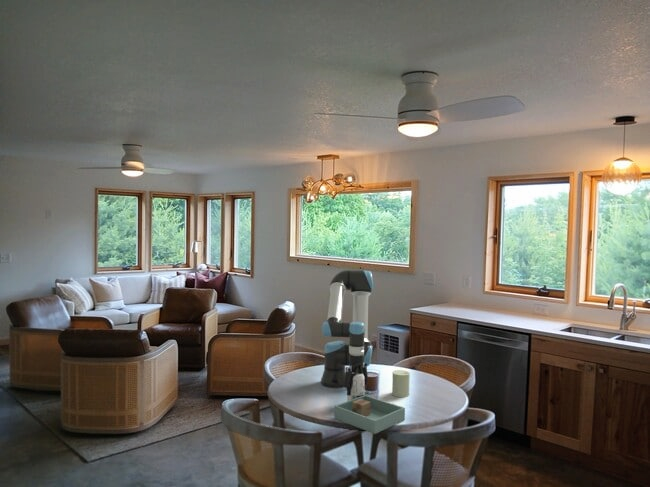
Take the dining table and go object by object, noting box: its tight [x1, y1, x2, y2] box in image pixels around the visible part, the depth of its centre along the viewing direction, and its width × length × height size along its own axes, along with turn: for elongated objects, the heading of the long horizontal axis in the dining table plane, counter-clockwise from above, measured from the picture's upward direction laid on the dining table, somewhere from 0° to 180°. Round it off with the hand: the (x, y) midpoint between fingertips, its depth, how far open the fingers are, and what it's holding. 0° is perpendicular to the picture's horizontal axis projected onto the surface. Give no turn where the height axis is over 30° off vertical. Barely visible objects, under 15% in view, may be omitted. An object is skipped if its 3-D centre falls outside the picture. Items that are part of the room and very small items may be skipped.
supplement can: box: [352, 372, 365, 399], centre depth 237 cm, size 8×8×15 cm
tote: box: [334, 394, 406, 435], centre depth 219 cm, size 24×22×6 cm
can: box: [391, 369, 411, 398], centre depth 252 cm, size 9×9×12 cm
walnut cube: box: [352, 399, 371, 417], centre depth 222 cm, size 6×6×6 cm
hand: (355, 399), depth 238 cm, fingers closed on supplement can, 8 cm apart
